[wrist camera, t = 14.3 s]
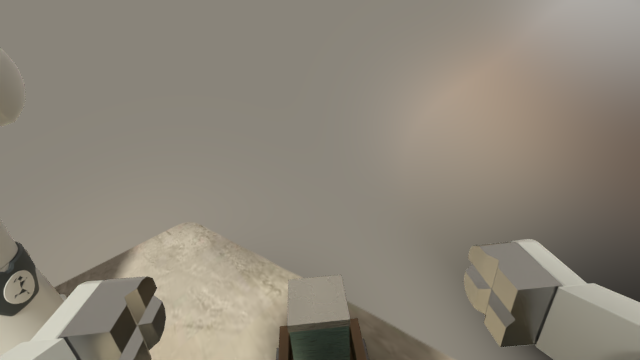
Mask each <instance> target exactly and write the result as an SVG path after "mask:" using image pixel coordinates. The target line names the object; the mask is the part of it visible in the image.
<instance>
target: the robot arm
mask: <svg viewBox="0 0 640 360" xmlns="http://www.w3.org/2000/svg"><path fill="white" fill-rule="evenodd" d="M25 95H26V91H25V84H24V81H23V78H22V75H21V73H20V71H19V69H18V68H17V66H16V65H15V63H14V62H13V60H12V59H11V58H10V57H9V56H8V54H7V53H6V52H5V51H4V50H2V48H0V127H2V126H5V125H8V124H11V123H13V122H15V121H16V120H17V118H18V117H19V115H20V114H21V112H22V110H23V107H24V103H25V97H26V96H25ZM468 259H469V260H470V261H471V263H472V265H471V266H470V267H469V268H468V269H467V270H466V271H465V276H464V286H465V292H466V294H467V296H468V299H469V301H470V302H471V304H472V305H473V307H474V308H475V309H477V310H478V311H480V312H481V313H483V314H485V319H484V324H485V325H486V327H487V328H488V330H489V331H490V333H491V334H492V336H493V337H494V339H495V340H496V342H497V343H498V345H499V346H500V347H510V346H521V345H535V344H536V347H537V348H539V349H540V350H541V351H543V352H544V353H546V354H547V355H548V356H550V357H551V358H552V359H554V360H640V302H637V301H635V300H632V299H630V298H628V297H625V296H623V295H621V294H618V293H616V292H613V291H611V290H609V289H606V288H604V287H601V286H599V285H597V284H594V283H593V284H587V283H586V282H585V281H583V280H582V279H581V278H580V277H579V276H577V275H576V274H575V273H574V272H573V271H572V270H570V269H569V268H568V267H567V266H565V265H564V264H563V263H562V262H561V261H560V260H558V259H557V258H556V257H555V256H554V255H553V254H551V253H550V252H549V251H548V250H547V249H545V248H544V247H543V246H542V245H541V244H540V243H538V242H537V241H535V240H532V239H525V240H517V241H511V242H503V243H492V244H482V245H473V246H472V247H471V249H470V251H469V255H468ZM156 289H157V287H156V285H155V282H154V280H153V278H150V277H134V278H120V279H107V280H98V281H86V282H84V283H82V284H80V285H78V286H77V287H76V288H75V290H74V291H73V292H72V293H71V294H70V295H69V297H68V298H67V297H66V295H64V294H58V292H57V291H56V290H55V289H54V287H53V286H52V285H51V284H50V283H49V281H48V280H47V279H46V278H45V276H44V275H43V274H42V273H41V272H40V270H39V269H37V268H36V267H35V265H34V263H33V261H32V260H31V258H30V254H29V253H28V252H27V250H25V249H24V247H23V246H22V245H21V244H20V243H18V242H15V241H14V240H13V238H12V236H11V235H10V233H9V232H8V230H7V228H6V227H5V225H4V223H3V222H2V220H1V218H0V360H151V359H152V358H151V355H150V352H149V350H150V349H151V348H152V347H153V346H154V345H155V344H157V343H158V342H159V341H160V338H161V336H162V333H163V331H164V326H165V320H166V314H165V308H164V305H163V302H162V301H161V300H160V299H158V298H157V297H155V296H154V293H155V291H156Z"/></svg>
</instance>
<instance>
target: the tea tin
mask: <svg viewBox="0 0 640 360" xmlns="http://www.w3.org/2000/svg"><path fill="white" fill-rule="evenodd" d="M349 326H350V315H349V310H348V305H347V300H346V295H345V290H344V285H343V280H342V275H333V276H322V277H312V278H302V279H292V280H288V315H287V328H288V333H289V332H290V338H291V345H292V352H293V359H294V360H350V345H349Z"/></svg>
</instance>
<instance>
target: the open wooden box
mask: <svg viewBox="0 0 640 360" xmlns="http://www.w3.org/2000/svg"><path fill="white" fill-rule="evenodd" d="M349 345H350V360H367V359H366V354H365V350H364V345H363V341H362V336H361V332H360V327H359V323H358V318H357V319H350V326H349ZM278 360H294V359H293V352H292V345H291V338H290V332H289V333H288V328H287V326H281V327H280V337H279V357H278Z"/></svg>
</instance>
